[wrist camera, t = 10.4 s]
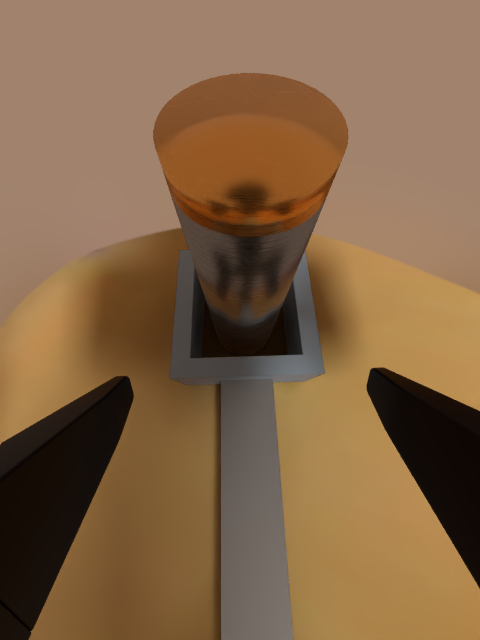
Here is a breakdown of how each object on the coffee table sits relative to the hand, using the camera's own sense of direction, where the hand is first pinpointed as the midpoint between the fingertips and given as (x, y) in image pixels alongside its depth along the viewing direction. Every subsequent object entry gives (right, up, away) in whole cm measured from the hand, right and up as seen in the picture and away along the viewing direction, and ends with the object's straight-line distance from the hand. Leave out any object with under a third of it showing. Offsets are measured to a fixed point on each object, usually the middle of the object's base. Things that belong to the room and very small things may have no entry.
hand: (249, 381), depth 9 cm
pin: (0, +2, +8) cm, 8 cm away
